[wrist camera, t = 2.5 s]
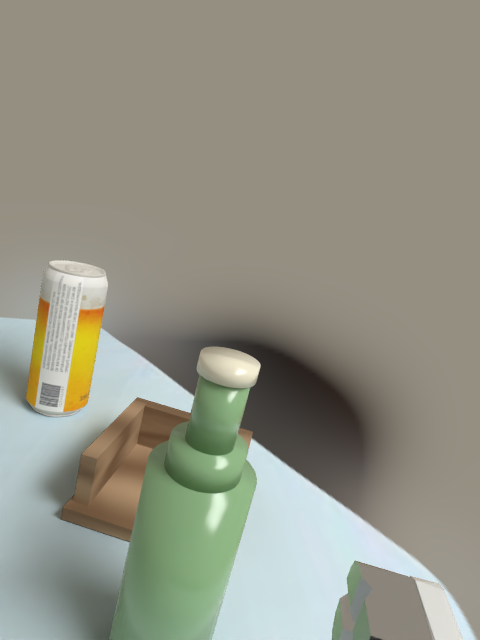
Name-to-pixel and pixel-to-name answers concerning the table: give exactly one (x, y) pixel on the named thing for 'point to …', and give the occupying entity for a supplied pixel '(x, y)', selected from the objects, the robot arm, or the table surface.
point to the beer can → (66, 337)
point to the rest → (121, 467)
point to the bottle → (191, 511)
